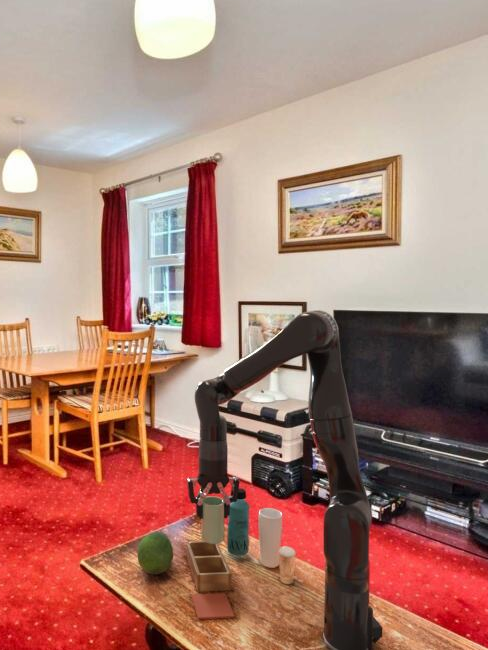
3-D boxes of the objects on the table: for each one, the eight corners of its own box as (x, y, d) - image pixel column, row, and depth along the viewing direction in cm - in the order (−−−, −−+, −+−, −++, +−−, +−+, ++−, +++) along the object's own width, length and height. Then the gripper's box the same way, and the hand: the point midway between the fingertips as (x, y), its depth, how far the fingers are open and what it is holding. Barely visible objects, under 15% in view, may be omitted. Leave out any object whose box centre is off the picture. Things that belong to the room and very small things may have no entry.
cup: (221, 532, 133) (221, 495, 133) (226, 543, 127) (226, 505, 127) (199, 533, 133) (199, 496, 132) (203, 544, 127) (203, 506, 126)
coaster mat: (225, 594, 127) (225, 592, 127) (234, 617, 118) (234, 615, 118) (191, 596, 127) (191, 594, 127) (197, 619, 118) (197, 617, 118)
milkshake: (291, 589, 130) (292, 552, 130) (274, 580, 134) (275, 544, 134) (301, 583, 133) (302, 546, 132) (284, 574, 137) (285, 539, 137)
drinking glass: (282, 571, 138) (283, 519, 138) (258, 568, 140) (258, 516, 139) (280, 558, 145) (281, 508, 144) (257, 556, 146) (258, 506, 146)
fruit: (147, 551, 148) (147, 519, 148) (179, 556, 146) (179, 523, 145) (131, 579, 134) (132, 543, 134) (167, 585, 131) (167, 548, 131)
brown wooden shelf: (216, 555, 147) (216, 540, 147) (231, 590, 129) (231, 573, 129) (186, 556, 146) (186, 541, 146) (197, 591, 129) (197, 575, 128)
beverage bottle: (222, 552, 148) (223, 487, 147) (240, 548, 151) (241, 483, 150) (235, 563, 142) (236, 495, 142) (253, 558, 145) (254, 491, 144)
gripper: (188, 460, 125) (188, 525, 125) (243, 458, 126) (243, 523, 126) (183, 450, 132) (183, 512, 133) (236, 449, 133) (236, 510, 134)
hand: (212, 517), depth 130 cm, fingers closed on cup, 6 cm apart
